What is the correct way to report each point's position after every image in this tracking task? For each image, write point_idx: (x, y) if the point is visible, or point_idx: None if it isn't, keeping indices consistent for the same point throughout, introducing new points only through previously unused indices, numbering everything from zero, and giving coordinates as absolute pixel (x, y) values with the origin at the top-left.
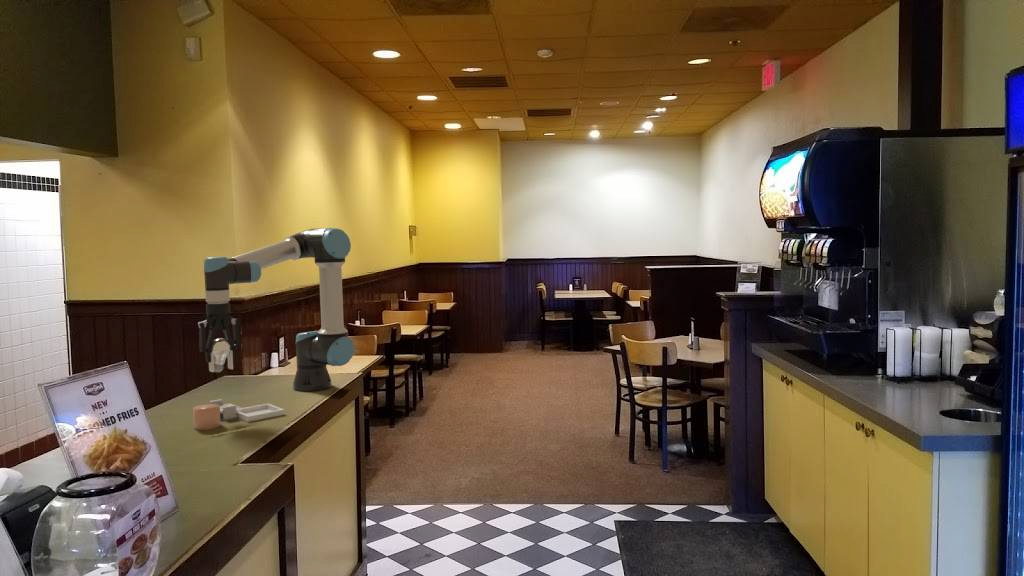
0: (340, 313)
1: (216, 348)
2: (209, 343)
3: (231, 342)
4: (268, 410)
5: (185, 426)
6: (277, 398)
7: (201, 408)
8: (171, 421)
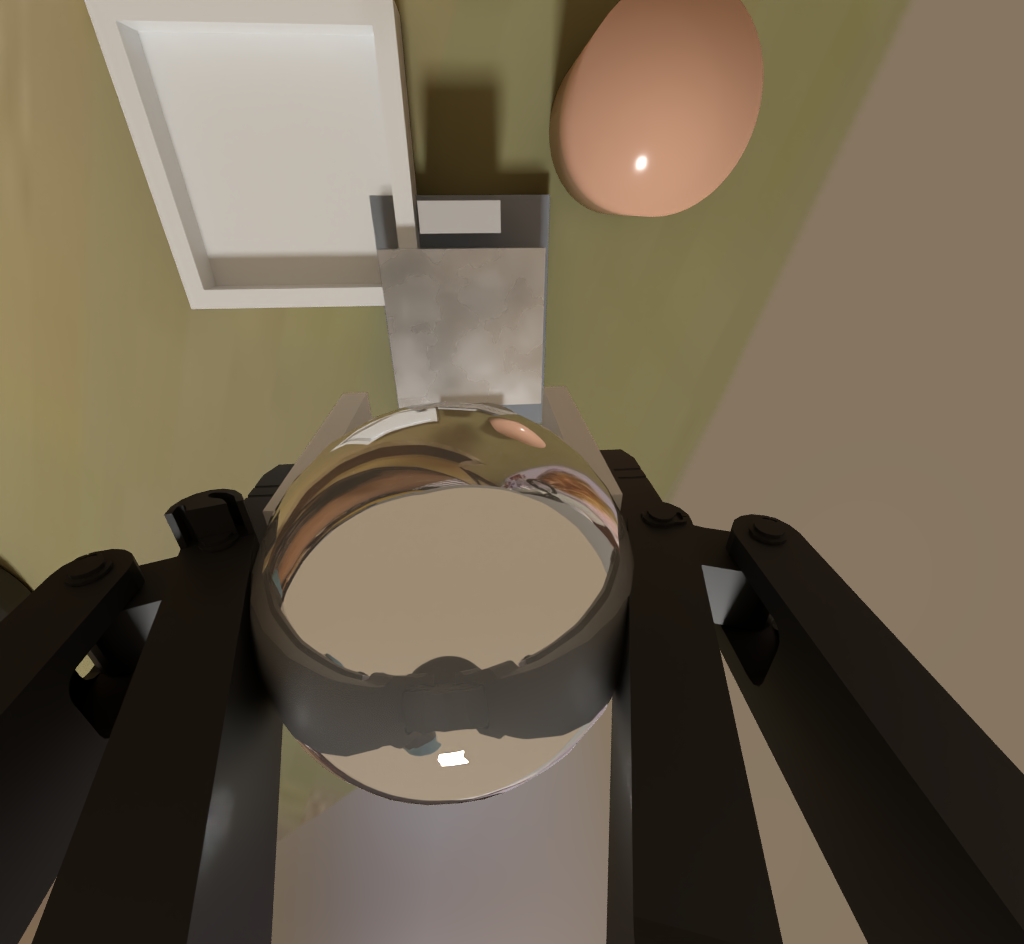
0: None
1: (580, 479)
2: (711, 624)
3: (200, 627)
4: (213, 223)
5: (668, 284)
6: (138, 513)
7: (710, 91)
8: (659, 426)
